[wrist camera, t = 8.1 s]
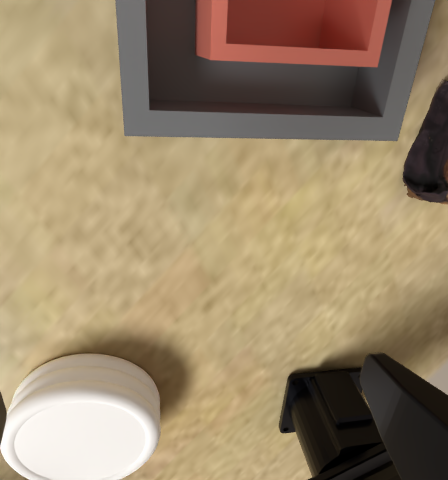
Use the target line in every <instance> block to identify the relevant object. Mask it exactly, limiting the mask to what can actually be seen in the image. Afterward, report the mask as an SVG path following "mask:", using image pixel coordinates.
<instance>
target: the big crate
mask: <svg viewBox="0 0 448 480" xmlns="http://www.w3.org/2000/svg"><path fill="white" fill-rule="evenodd" d="M434 3H435V0H392V2H391V7H390V12H389V16H388V21H387V26H386V30H385V35H384V40H383V44H382V49H381V54H380V58H379V63H378V67H358V66H335V65H312V64H289V63H266V62H243V61H220V60H209V59H206V58H203V57H200V56H197V55H195V0H116V15H117V30H118V45H119V60H120V75H121V90H122V105H123V120H124V135H125V136H155V137H210V138H265V139H320V140H375V141H398V137H399V133H400V129H401V126H402V122H403V118H404V114H405V111H406V107H407V103H408V100H409V96H410V92H411V88H412V85H413V81H414V77H415V74H416V70H417V66H418V62H419V59H420V55H421V51H422V48H423V44H424V40H425V36H426V33H427V29H428V25H429V21H430V18H431V14H432V10H433V7H434Z"/></svg>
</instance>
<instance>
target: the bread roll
mask: <svg viewBox="0 0 448 480" xmlns="http://www.w3.org/2000/svg"><path fill="white" fill-rule="evenodd" d="M403 181H404V183H405V185H404V186H407V191H408V193H407V195H408V196H409V197H411V198H413V197H414V198H417V199H419V200H425V201H429V202H436V203H438V202H439V203H441V204H448V81H444V80H443V79H442V81H441V82H440V84H439V86H438V87H437V89H436V92H435V94H434V97H433V99H432V102H431V105H430V108H429V111H428V113H427V115H426V117H425V119H424V121H423V124H422V127H421V129H420V131H419V134H418V136H417V137H416V140H415V142H414V143H413V145H412V147H411V149H410V151H409V153H408V156H407V159H406V161H405V164H404V172H403Z"/></svg>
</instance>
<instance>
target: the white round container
mask: <svg viewBox="0 0 448 480" xmlns="http://www.w3.org/2000/svg"><path fill="white" fill-rule="evenodd" d="M160 433H161V426H160V396H159V392H158V389H157V387H156V384H155V383H154V381H153V379H152V378H151V377H150V376H149V375H148V373H146V372H145V371H144V370H143V369H142V368H140V367H139V366H137V365H135V364H133V363H131V362H129V361H127V360H124V359H122V358H118V357H114V356H110V355H104V354H75V355H69V356H64V357H61V358H57V359H54V360H52V361H49V362H47V363H45V364H43V365H41V366H40V367H38V368H36V369H35V370H34V371H32V372H31V373H30V374H29V375H28V376H27V377H26V378H25V379H24V380H23V381H22V382H21V384H20V385H19V386H18V388H17V389H16V391H15V394H14V396H13V400H12V403H11V405H10V407H9V409H8V412H7V418H6V424H5V428H4V433H3V437H2V441H1V445H0V449H1V453H2V455H3V457H4V459H5V460H6V461H7V463H8V464H9V465H10V466H11V467H12V468H13V469H14V470H15V471H16V472H17V473H19V474H20V475H22V476H23V477H25V478H27V479H29V480H119V479H122V478H124V477H126V476H128V475H129V474H131V473H133V472H134V471H136V470H137V469H138V468H140V467H141V466H142V465H143V464H144V463H145V462H146V461H147V460H148V459H149V458H150V457H151V456H152V454H153V453H154V451H155V449H156V447H157V445H158V441H159V438H160Z"/></svg>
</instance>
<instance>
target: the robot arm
mask: <svg viewBox="0 0 448 480" xmlns="http://www.w3.org/2000/svg"><path fill="white" fill-rule="evenodd" d="M362 389H363V392H364V394H365V397H366V400H367V402H368V404H367V403H366V401H365V399H364V398H363V396H362V394H361V392H362ZM368 405H369V406H368ZM369 407H370V408H369ZM6 418H7V412H6V408H5V405H4V402H3V398H2V395H1V392H0V445H1V441H2V437H3V433H4V428H5V424H6ZM279 429H280V432H281V433H291V432H296V434H297V437H298V439H299V442H300V445H301V447H302V450H303V453H304V456H305V458H306V461H307V464H308V466H309V469H310V472H311V475H312V478H310V479H308V480H448V395H447V394H445V393H444V392H442V391H441V390H439V389H438V388H436V387H434V386H433V385H431V384H430V383H429V382H427V381H425V380H424V379H422V378H421V377H419V376H418V375H416V374H415V373H413V372H412V371H410V370H409V369H407V368H406V367H404V366H403V365H401V364H400V363H398V362H397V361H395V360H394V359H392V358H391V357H389V356H388V355H386V354H384V353H381V352H378V353H369V354H367V355H366V357H365V360H364V363H363V366H362V368H352V369H342V370H332V371H321V372H311V373H301V374H293V375H291V376H289V377H288V379H287V385H286V390H285V395H284V401H283V406H282V411H281V416H280V422H279Z"/></svg>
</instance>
